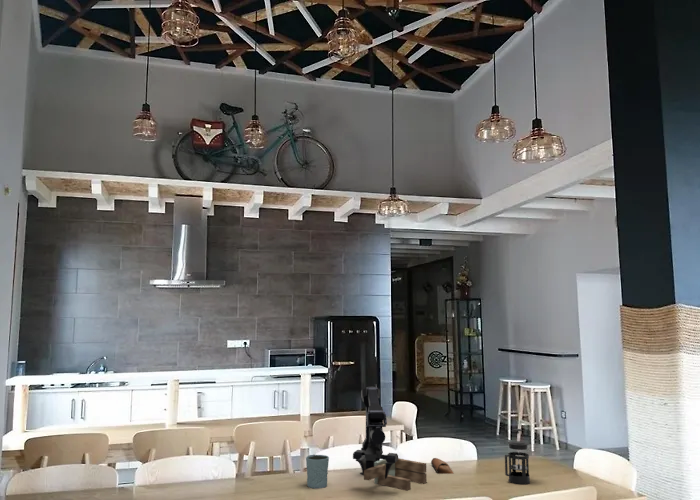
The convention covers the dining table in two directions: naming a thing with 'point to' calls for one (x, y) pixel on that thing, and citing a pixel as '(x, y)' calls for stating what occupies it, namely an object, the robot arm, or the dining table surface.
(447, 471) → the sunglasses case
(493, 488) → the dining table surface
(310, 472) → the grey-green cup
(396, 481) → the brown wooden crate
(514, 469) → the french press
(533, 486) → the dining table surface
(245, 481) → the dining table surface
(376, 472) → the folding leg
